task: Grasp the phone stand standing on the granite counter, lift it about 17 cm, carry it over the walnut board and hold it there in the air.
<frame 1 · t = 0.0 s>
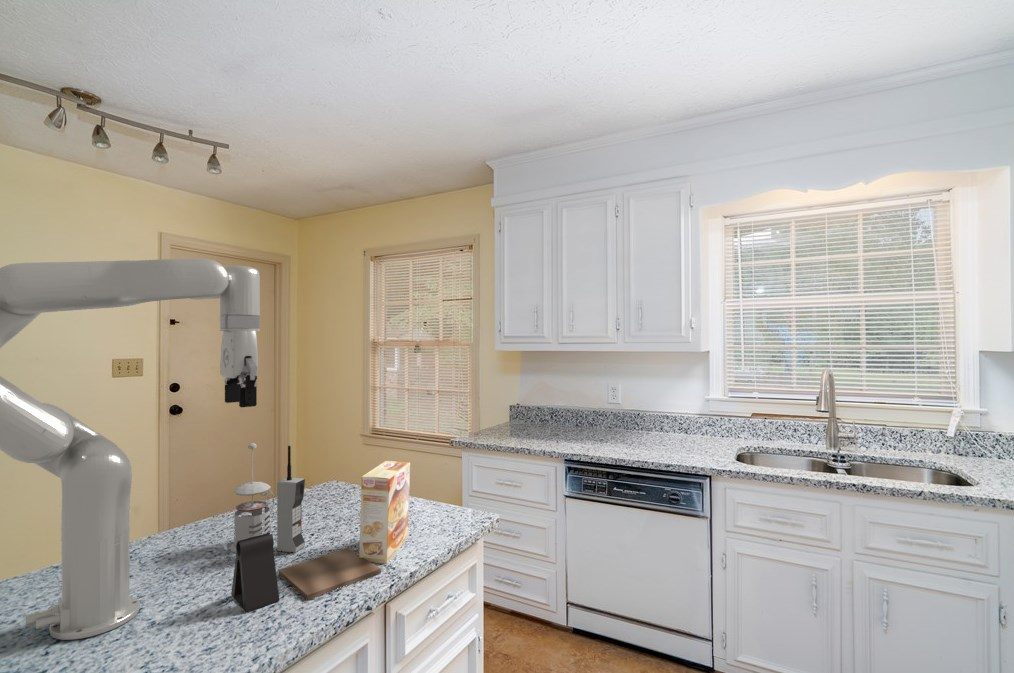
hand: (240, 404, 107), 37 cm above the countertop, tool pointing down, fingers open, 9 cm apart
walnut board: (329, 573, 108), on the countertop
vintage mobile phone: (291, 550, 121), on the countertop
coffeecake box: (385, 549, 121), on the countertop, touching walnut board
phone stand: (255, 599, 98), on the countertop
french press: (255, 543, 124), on the countertop
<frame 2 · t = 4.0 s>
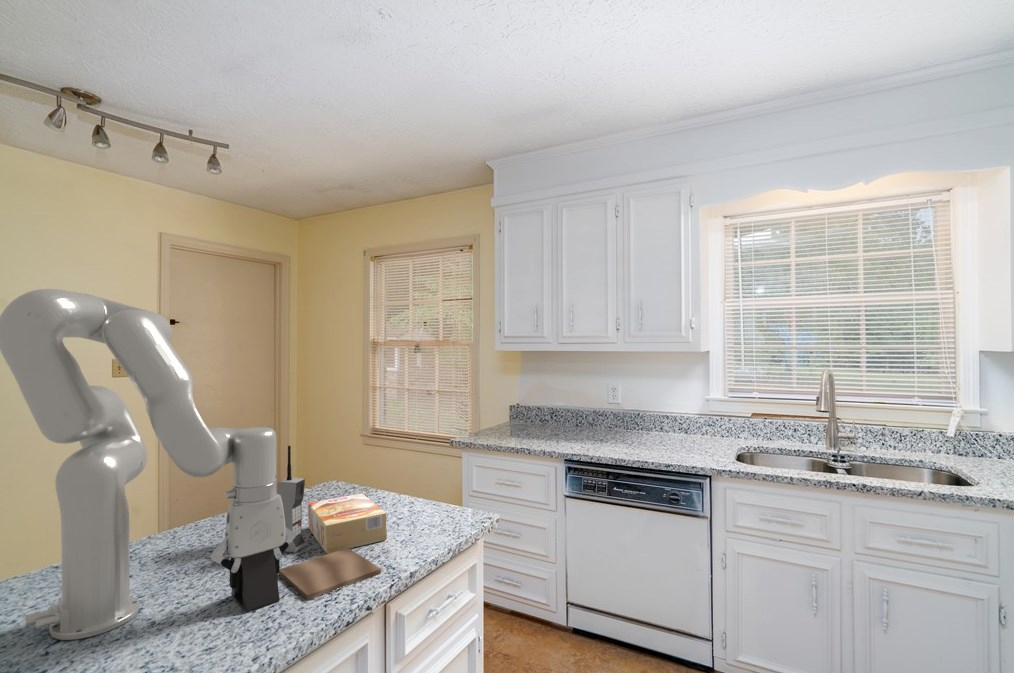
hand: (255, 583, 98), 3 cm above the countertop, tool pointing down, fingers closed on phone stand, 6 cm apart
coffeecake box: (358, 533, 122), point 4 cm above the countertop
phone stand: (255, 599, 98), on the countertop, touching gripper
everything else where it was.
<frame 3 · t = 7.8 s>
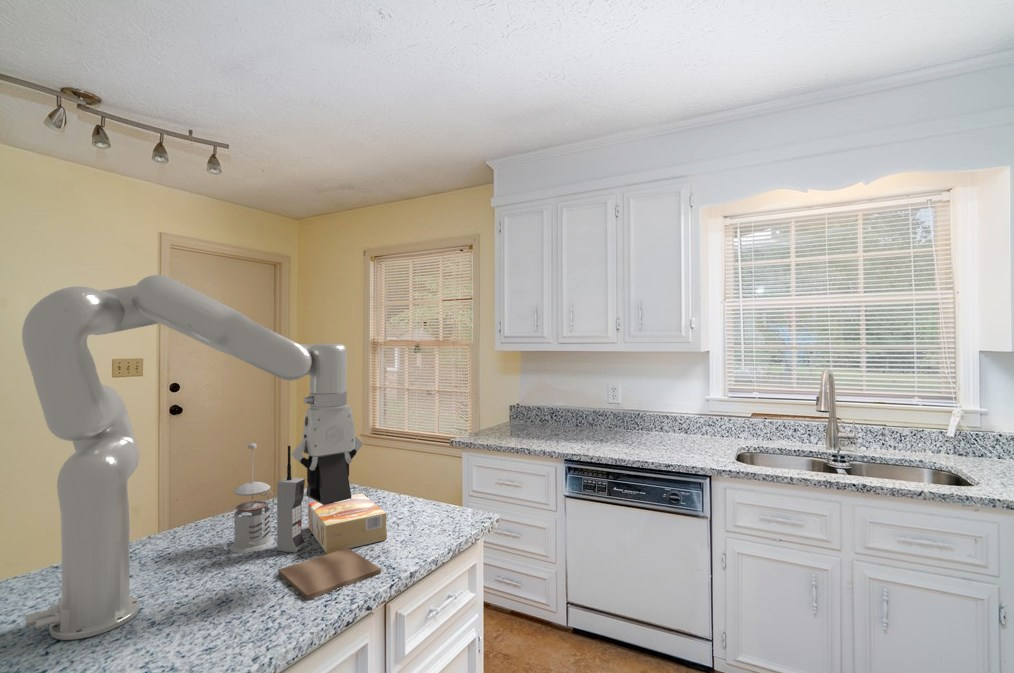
hand: (328, 483, 108), 20 cm above the countertop, tool pointing down, fingers closed on phone stand, 6 cm apart
phone stand: (328, 498, 108), point 16 cm above the countertop, touching gripper
everything else where it was.
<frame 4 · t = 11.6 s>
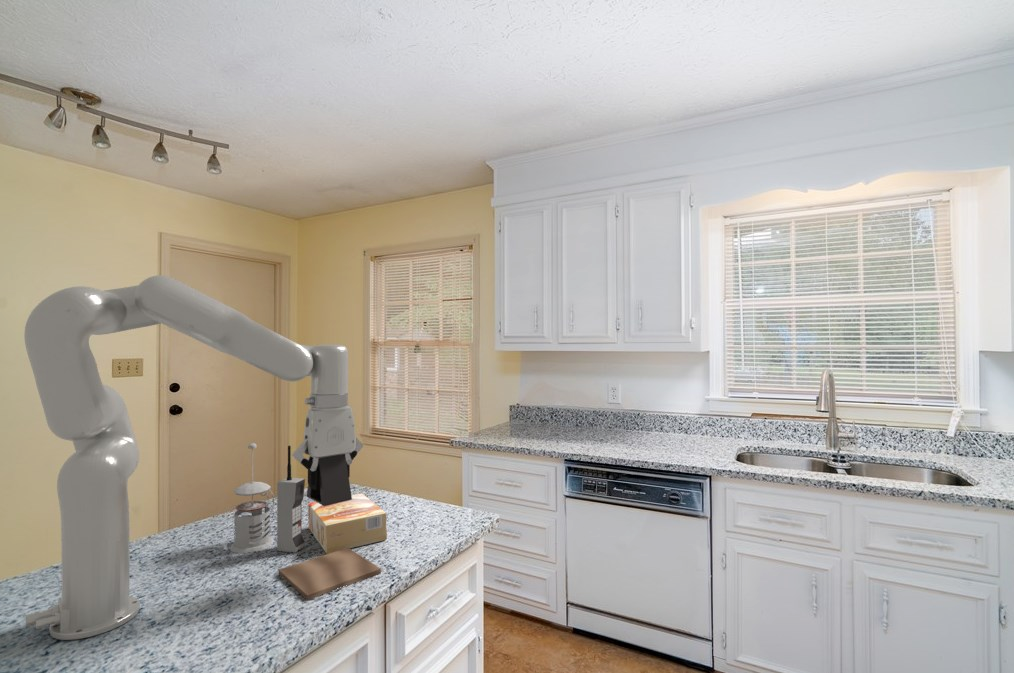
hand: (329, 484, 108), 19 cm above the countertop, tool pointing down, fingers closed on phone stand, 6 cm apart
phone stand: (329, 499, 108), point 16 cm above the countertop, touching gripper
everything else where it was.
at the end: the gripper is holding phone stand; phone stand point 16.1 cm above the countertop; phone stand inside the target area (0.2 cm from its centre), point 16.1 cm above the countertop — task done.
